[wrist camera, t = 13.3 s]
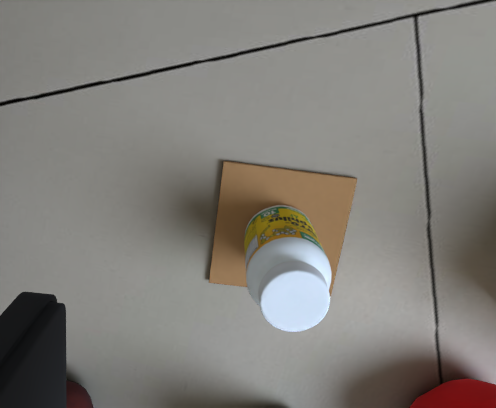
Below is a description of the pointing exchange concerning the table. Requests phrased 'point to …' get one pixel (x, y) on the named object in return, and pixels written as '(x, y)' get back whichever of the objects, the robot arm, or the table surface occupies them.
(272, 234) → the supplement bottle
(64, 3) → the table surface
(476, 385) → the tomato
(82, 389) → the potato
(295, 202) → the coaster
